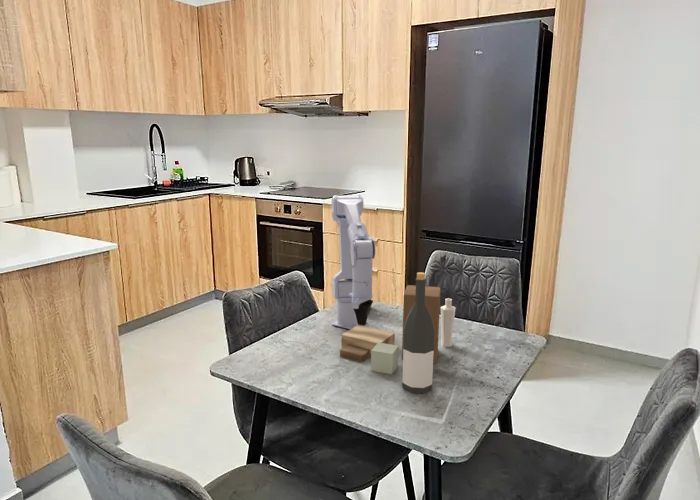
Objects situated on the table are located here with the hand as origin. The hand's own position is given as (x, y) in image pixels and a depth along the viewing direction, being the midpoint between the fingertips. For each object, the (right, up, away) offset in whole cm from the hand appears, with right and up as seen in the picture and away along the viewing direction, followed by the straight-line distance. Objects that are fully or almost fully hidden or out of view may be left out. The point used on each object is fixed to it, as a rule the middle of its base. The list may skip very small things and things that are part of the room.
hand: (361, 324), depth 144 cm
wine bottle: (+14, -13, -19) cm, 27 cm away
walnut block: (-1, -8, 0) cm, 8 cm away
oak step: (+2, -8, +5) cm, 9 cm away
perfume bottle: (+26, -8, +7) cm, 28 cm away
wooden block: (+17, -9, -1) cm, 19 cm away
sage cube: (+6, -11, -9) cm, 15 cm away
